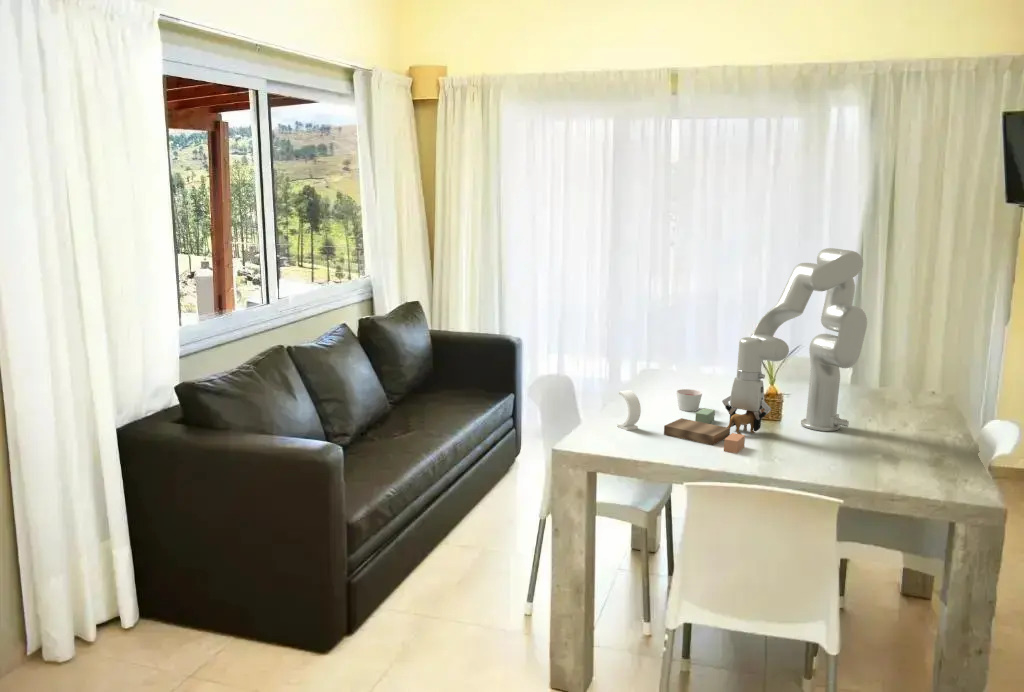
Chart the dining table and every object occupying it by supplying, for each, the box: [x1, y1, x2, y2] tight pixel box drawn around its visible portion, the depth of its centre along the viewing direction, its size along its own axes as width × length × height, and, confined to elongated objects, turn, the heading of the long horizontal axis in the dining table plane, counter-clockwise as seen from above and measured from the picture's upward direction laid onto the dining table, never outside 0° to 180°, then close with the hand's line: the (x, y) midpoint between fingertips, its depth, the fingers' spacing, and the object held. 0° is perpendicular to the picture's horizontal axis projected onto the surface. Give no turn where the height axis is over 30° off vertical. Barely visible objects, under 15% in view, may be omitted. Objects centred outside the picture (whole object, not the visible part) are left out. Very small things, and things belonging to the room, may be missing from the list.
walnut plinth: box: [663, 417, 729, 446], centre depth 273 cm, size 17×12×3 cm
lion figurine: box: [727, 410, 756, 435], centre depth 277 cm, size 15×5×9 cm, turn 130°
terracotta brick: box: [723, 432, 746, 455], centre depth 260 cm, size 8×4×4 cm, turn 149°
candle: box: [676, 388, 703, 412], centre depth 306 cm, size 9×9×6 cm
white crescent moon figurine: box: [617, 389, 642, 431], centre depth 280 cm, size 5×6×12 cm
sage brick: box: [694, 407, 716, 424], centre depth 290 cm, size 8×4×4 cm, turn 149°
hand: (744, 427), depth 279 cm, fingers open, 7 cm apart
